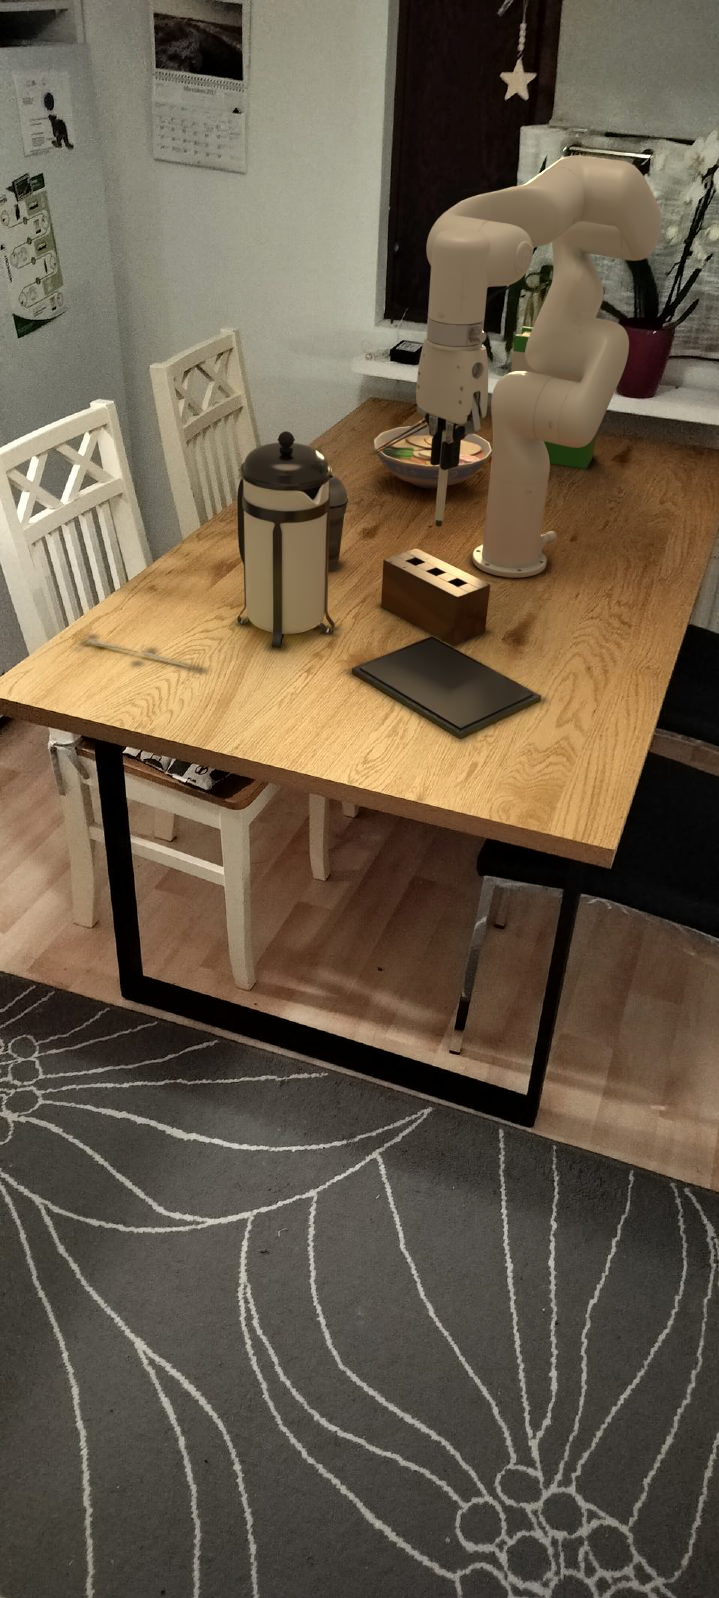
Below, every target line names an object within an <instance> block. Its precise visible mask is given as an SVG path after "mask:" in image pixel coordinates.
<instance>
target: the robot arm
mask: <svg viewBox="0 0 719 1598" xmlns="http://www.w3.org/2000/svg"><path fill="white" fill-rule="evenodd" d="M646 179H647V178H645V176H644V175H643V174H642V172H641V171H640V170H639V169H638V168H637V166H635V165H634V164H633V163H631V162H628V161H626V160H619V159H612V158H611V159H610V158H603V157H595V156H588V155H569V156H564V157H562V158H560V159H558V160H557V161H555V162H554V163H552V164H551V165H550V166H548V167H546V168H545V169H544V170H542V172H540V173H538V174H537V175H536V176H534V177H533V178H531V179H529V181H527V182H526V183H525V184H521V185H516V186H511V187H506V188H502V189H499V190H495V191H490V192H485V193H481V194H478V195H474V196H471V197H468V198H466V199H463V200H461V201H458V202H457V203H456V204H455V205H453V206H451V207H450V208H449V209H448V210H446V211H444V212H443V213H442V214H441V215H440V216H439V217H438V218H437V220H436V221H435V222H434V224H433V225H432V227H431V229H430V231H429V233H428V236H427V241H426V249H425V250H426V257H427V261H428V263H429V265H430V279H429V295H428V311H427V324H426V325H427V326H426V336H425V337H424V339H423V340H424V341H423V342H422V343H423V344H422V347H421V352H420V356H419V361H418V362H419V363H418V369H417V376H416V377H417V379H416V389H415V400H416V412H417V413H418V414H419V415H420V416H421V417H422V419H423V418H425V420H426V422H425V423H427V424H428V426H429V435H430V436H431V437H433V438H432V447H431V461H430V464H431V465H433V466H436V465H439V464H440V467H441V469H442V470H447V469H450V468H454V467H457V466H458V465H459V458H460V446H461V440H464V439H465V436H466V435H468V434H477V433H480V432H481V430H482V427H481V426H482V425H481V420H483V419H485V418H486V416H487V411H488V400H489V362H488V361H489V360H488V353H487V346H485V345H483V343H484V342H485V341H486V339H487V332H485V331H484V325H485V318H486V317H485V316H486V315H485V314H486V304H487V294H488V288H490V287H506V286H510V285H512V284H515V283H517V282H519V281H520V280H521V279H522V278H523V277H524V276H525V275H526V273H527V272H528V271H529V268H530V266H531V264H532V261H533V257H534V248H538V247H539V248H540V247H544V246H547V245H549V244H551V247H552V263H553V264H552V266H553V271H552V272H553V273H552V275H553V276H552V281H551V284H550V287H549V289H548V292H547V295H546V297H545V299H544V302H543V303H542V306H541V308H540V311H539V313H538V315H537V317H536V320H535V321H534V325H533V326H532V327H533V329H532V331H531V333H530V336H529V338H528V341H527V345H526V350H525V357H526V361H527V363H528V364H529V365H530V367H532V368H533V369H535V370H537V371H539V372H541V373H544V374H548V375H552V376H556V377H561V378H566V379H570V380H575V381H579V383H577V382H573V381H569V380H564V379H559V378H556V377H552V376H547V375H542V374H537V373H533V372H526V371H516V372H511V371H510V372H509V373H506V374H505V375H503V376H501V377H500V379H498V381H497V382H496V383H495V386H494V388H493V390H492V393H491V399H490V400H491V401H490V413H491V424H492V448H491V449H492V452H491V461H490V462H491V464H490V472H489V482H488V490H487V500H486V509H485V510H486V511H485V518H484V519H485V520H484V529H483V539H482V544H481V545H479V546H477V547H476V548H475V549H474V550H473V552H472V557H471V558H472V559H471V561H472V563H473V564H474V566H475V567H477V568H478V569H479V570H481V571H483V572H484V573H487V574H490V575H493V576H497V577H503V578H511V579H512V578H513V579H514V578H515V579H517V578H518V579H519V578H528V577H532V576H533V577H534V576H535V575H539V574H540V573H541V572H543V571H545V569H546V567H547V556H546V554H545V553H544V552H543V548H544V547H545V546H546V545H549V544H551V543H554V542H556V540H557V538H558V537H557V533H556V532H555V531H554V530H550V531H547V532H544V533H543V534H542V529H543V523H544V516H545V515H544V514H545V508H546V501H547V493H548V486H549V485H548V484H549V478H550V471H551V470H550V469H551V463H550V460H549V455H548V452H547V449H546V446H545V444H544V441H545V442H549V443H554V444H558V445H562V446H567V447H572V448H580V447H584V446H586V445H587V444H588V443H590V441H591V440H592V439H593V437H594V436H595V434H596V435H597V433H598V430H599V428H600V426H601V424H602V421H603V420H604V418H605V415H606V412H607V411H608V408H609V406H610V403H611V401H612V399H613V396H614V394H615V392H616V390H617V387H618V385H619V383H620V381H621V378H622V376H623V374H624V371H625V368H626V364H627V361H628V356H629V349H630V339H629V335H628V332H627V330H626V329H625V328H624V326H622V325H621V324H620V323H618V322H615V321H613V320H609V319H605V318H604V319H603V318H598V317H597V315H598V313H599V311H600V308H601V306H602V304H603V300H604V294H605V291H604V286H603V282H602V279H601V276H600V273H599V272H598V270H597V268H596V266H595V264H594V262H593V259H592V256H591V255H596V256H601V257H608V258H614V259H619V260H625V261H634V262H635V261H642V260H645V259H647V258H648V257H649V256H650V255H651V254H653V252H654V251H655V249H656V247H657V245H658V243H659V241H660V238H661V235H662V225H663V220H662V212H661V208H660V206H659V202H658V201H657V199H656V197H655V195H654V193H653V191H652V189H651V187H650V185H649V183H648V182H647V180H646ZM443 430H446V441H444V442H442V432H443ZM596 432H597V433H596ZM441 443H442V449H441ZM440 455H441V463H440Z"/></svg>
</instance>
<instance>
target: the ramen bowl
mask: <svg viewBox="0 0 719 1598" xmlns="http://www.w3.org/2000/svg"><path fill="white" fill-rule="evenodd" d="M432 438H433V437H431V436H430V435H429V426H428V424H427V422H426V420H425V418H423V417H422V419H420V420H419V421H417V422H416V423H414V424H413V425H409V426H401V427H394V428H392V429H388V430H386V431H383V432H380V433H379V434H378V436H376V437H375V438H374V439H373V442H374V443H373V444H374V449H375V450H374V451H372V452H370V453H369V456H370V455H371V456H375V455H376V454H377V456H378V458H379V460H380V462H381V463H382V465H383V466H384V467H385V468H386V469H387V470H388V471H389V472H390V473H392V474H393V475H394V476H396V477H397V478H398V479H400V480H402V481H405V482H407V483H410V484H413V485H414V486H416V487H419V488H423V489H437V488H438V477H439V466H440V464H439V465H436V466H433V465H431V464H430V461H431V447H432ZM492 449H493V448H492V446H491V444H490V442H489V441H488V440H486V439H484V438H483V437H481V436H480V435H478V434H477V433H474V434H468V435H466V436H465V439H464V440H461V446H460V458H459V465H458V466H457V467H454V468H450V469H448V478H447V487H448V486H452V485H456V484H459V483H462V482H465V481H466V480H468V479H470V478H472V477H473V476H474V475H475V474H476V473H477V472H478V471H479V469H480V468H481V467H482V466H483V465H484V463H485V462H486V461H487V460H488V458H489V456H490V455H491V454H492Z"/></svg>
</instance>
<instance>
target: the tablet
mask: <svg viewBox="0 0 719 1598" xmlns="http://www.w3.org/2000/svg"><path fill="white" fill-rule="evenodd" d="M351 674H353V675H354V676H356V677H357V678H359V679H360V680H362V681H364V682H365V683H367V684H369V685H371V686H373V687H374V688H375V689H377V690H378V691H381V692H382V693H384V694H386V695H387V696H389V697H391V698H392V699H394V700H396V701H397V702H399V703H400V704H402V705H403V706H405V707H407V708H409V710H412V711H413V712H415V713H417V714H418V715H420V716H422V717H423V718H425V719H427V720H429V721H430V722H432V723H433V724H435V725H437V726H438V727H440V728H442V729H443V730H445V731H447V732H449V734H452V735H453V736H455V737H457V738H458V739H462V738H465V737H467V736H469V735H471V734H473V733H475V732H478V731H480V730H481V729H482V730H483V729H484V728H486V727H488V726H490V725H492V724H494V723H497V722H498V721H501V720H503V719H505V718H507V717H509V716H511V715H513V714H515V713H517V712H520V711H522V710H523V709H526V708H528V707H530V706H532V705H534V704H536V703H538V702H541V699H542V695H541V694H539V693H537V692H535V691H534V690H532V689H529V688H527V687H526V686H524V685H523V684H521V683H519V682H517V681H515V680H514V679H511V678H509V677H508V676H506V675H504V674H502V673H500V672H498V671H497V670H494V668H491V667H489V666H488V665H486V664H483V663H481V662H480V661H479V660H477V659H475V658H474V657H471V656H469V655H467V654H466V653H464V652H462V651H460V650H458V649H456V648H455V647H454V646H453V647H452V645H449V644H448V643H446V642H443V640H440V639H439V638H437V637H434V636H428V637H426V638H424V639H422V640H419V641H416V642H414V643H411V644H408V645H407V646H404V647H402V648H399V649H396V650H394V651H391V652H388V653H387V654H384V655H382V656H379V657H377V658H373V659H372V660H369V661H366V662H364V663H361V664H359V665H356V666H355V667H352V668H351Z"/></svg>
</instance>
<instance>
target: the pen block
mask: <svg viewBox="0 0 719 1598" xmlns="http://www.w3.org/2000/svg"><path fill="white" fill-rule="evenodd" d="M382 561H383V562H382V580H381V599H380V607H381V608H383V609H385V610H387V611H389V612H391V613H392V614H394V615H396V616H398V617H400V618H402V619H404V620H405V621H407V622H409V623H411V624H413V625H415V626H416V627H418V628H420V629H422V630H424V631H425V632H427V633H430V634H431V635H433V636H435V637H436V638H437V639H439V640H440V639H441V641H444V642H445V643H447V644H448V645H449V644H450V646H455V645H458V644H461V643H462V642H464V641H468V640H470V639H472V638H475V637H477V636H480V635H482V634H484V633H486V630H487V620H488V610H489V602H490V595H491V593H490V592H491V584H490V583H488V582H486V581H485V580H482V579H480V578H478V577H476V576H474V575H472V574H470V573H468V572H466V571H464V570H462V569H460V568H457V567H455V566H453V565H451V564H450V563H447V562H445V561H443V560H441V559H439V558H438V557H435V556H432V555H431V554H430V553H426V552H425V551H423V550H420V549H418V548H413V549H410V550H407V551H404V552H401V553H399V554H395V555H393V556H389V557H386V558H384V559H383V560H382Z"/></svg>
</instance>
